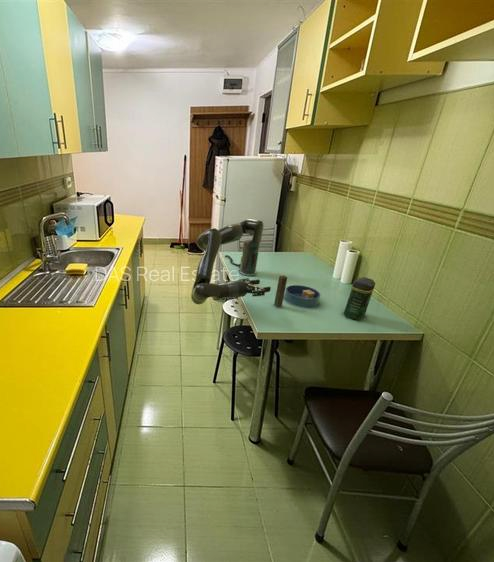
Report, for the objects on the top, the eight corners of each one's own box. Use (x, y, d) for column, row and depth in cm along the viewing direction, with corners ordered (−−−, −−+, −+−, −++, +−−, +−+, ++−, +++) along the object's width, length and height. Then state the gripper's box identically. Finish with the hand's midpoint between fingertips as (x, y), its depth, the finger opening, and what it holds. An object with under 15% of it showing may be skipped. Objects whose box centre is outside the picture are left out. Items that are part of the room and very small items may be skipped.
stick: (273, 305, 149) (279, 275, 143) (278, 304, 150) (283, 275, 144) (277, 308, 147) (282, 277, 141) (281, 307, 148) (287, 277, 141)
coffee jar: (359, 322, 136) (371, 285, 129) (341, 315, 141) (351, 279, 134) (367, 315, 142) (378, 279, 135) (348, 309, 147) (359, 274, 140)
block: (301, 297, 157) (303, 290, 155) (307, 296, 158) (309, 289, 157) (306, 300, 154) (308, 293, 152) (313, 299, 155) (315, 292, 153)
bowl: (277, 295, 160) (279, 287, 158) (302, 291, 164) (304, 283, 162) (298, 310, 146) (300, 300, 144) (325, 305, 150) (327, 296, 148)
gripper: (243, 288, 129) (275, 284, 134) (227, 275, 141) (257, 272, 146) (241, 303, 132) (272, 299, 137) (225, 290, 144) (254, 286, 149)
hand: (264, 285), depth 141 cm, fingers open, 8 cm apart
